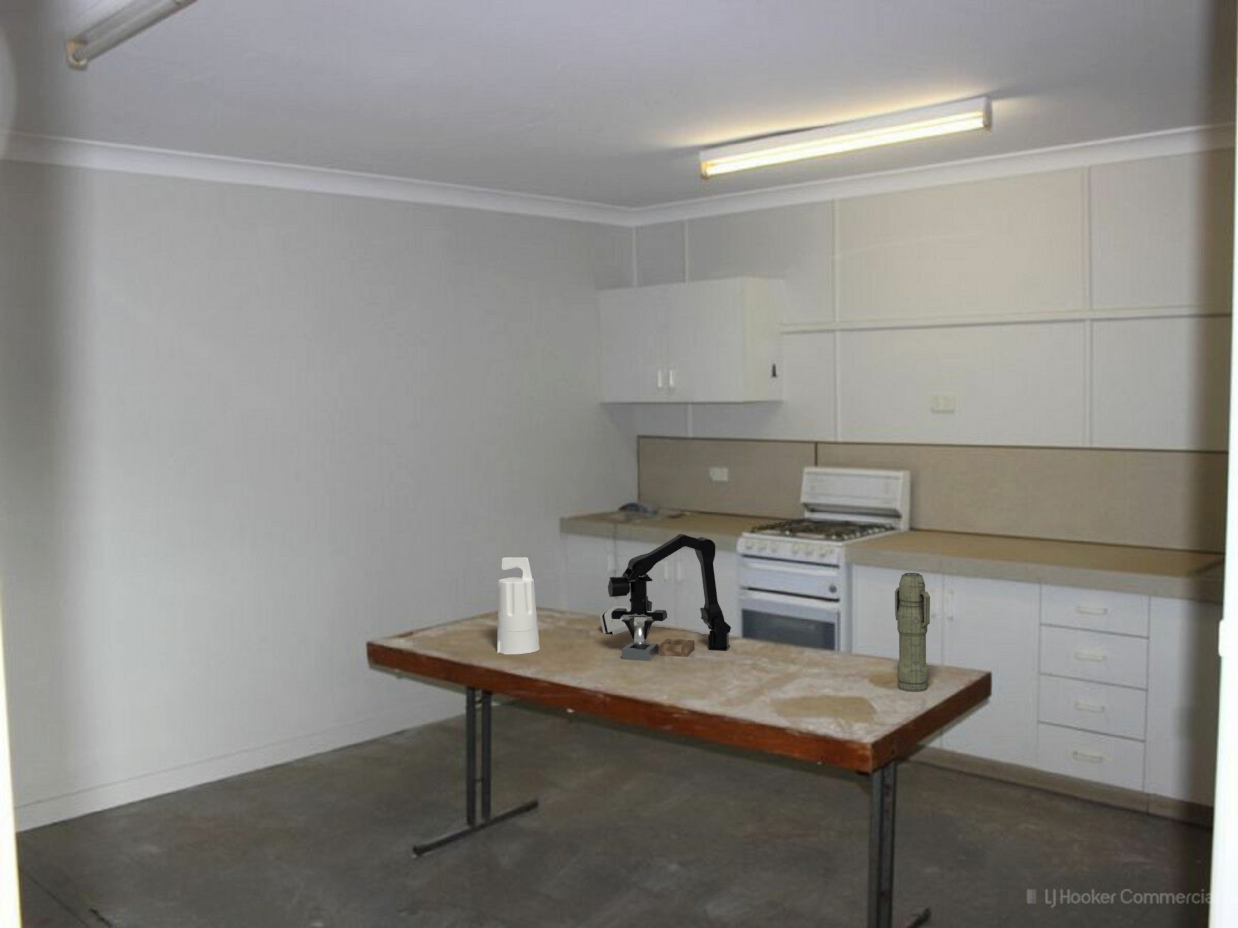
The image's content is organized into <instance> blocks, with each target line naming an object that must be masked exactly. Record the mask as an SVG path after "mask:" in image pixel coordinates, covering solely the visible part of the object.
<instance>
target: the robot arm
mask: <svg viewBox="0 0 1238 928" xmlns="http://www.w3.org/2000/svg"><path fill="white" fill-rule="evenodd" d="M684 547H687V548H690V549H693V550H694V553H695V555H696V557H697V560H698V562H699V564H700V571H701V572H700V573H701V580H702V587H703V588H702V589H703V596H704V604H703V605H704V606H703V607H700V608H699V610H700V614H701V616H700V619H701V620H702V621H703V623H704V624H705V625H706V626H707V628H708V630H709V634H708V635H707V644H708V645H707V647H708V650H713V651H728V650H729V648H730V647H731V645H730V637H729V636H730V632H731V629H732V627H731V626H730V625H729V624H728V623H727V622H726V621H725V617H724V614H723V610H722V608H721V605H720V604H719V599H718V595H717V593H718V592H717V586H716V585H717V583H716V577H715V567H714V561H715V557H716V543H715V542H714V541H713V540H712V539H709V538H707V537H703V536H701V537H700V536H699V537H698V538H696V537H694V536H689V535H686V534H684V533H679V534H677V535H676V536H675V537H674V538H671V539H670V540H668V541H666V542H665V543H663V544H662V545H660V546H658V547H657V548H655V549H653V550H651V551H649V552H647V553H644V554H640V555H637V556H634V557H632V558H631V559H629V561H628V563H627V568H625V571H624V572H623V574H622V575H621V576H609V581H608V583H607V584H608V585H607V591H608V595H609V597H610V598H616V597H617V598H618V597H627V596H628V595H629V594H630V597H629V602H630V611H627V609H626V608H616V609H615V610H613V611H612V613H611V619H620V618H621V617H622V618H623V620H622V622H624V623H625V624H626V626H627V628H628V629H629V630H628V631H629V634H630V635H631V637H632V640H634V621H635V618H645V619H646V620H644V621H643V623H644V624H643V625H644V637H645V640H646V641H647V640H648V637H649V632H650V631H651V628H652V625H653V624H654V622H655V623H656V622H664V621H665V620H667V619H668V612H667V610H666V609H655V610H653V611H652V608H653V601H650V600H649V596H648V585H647V582H653V578H651V577H650V575H649V574H648V573H649V572H650V571H651V570H653V568H654V567H655V565H656V564H658V563H659V562H661V561H662V560H664V559H666V558H668V557H669V556H671V555H672V554H674V553H676V552H678V551H679V550H681V549H682V548H684Z"/></svg>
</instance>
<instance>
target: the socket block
mask: <svg viewBox="0 0 1238 928" xmlns="http://www.w3.org/2000/svg"><path fill="white" fill-rule="evenodd" d="M695 644H696V643H695V639H681V638H666V639H665V640H663V641H662V642H661V643H660V644H658V655H659V656H670V657H683V658H685V657H688V656H690V655H691V654H692V653H693V652H694V651H695V649H696V648H695V647H696V646H695Z"/></svg>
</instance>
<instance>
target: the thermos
mask: <svg viewBox="0 0 1238 928" xmlns="http://www.w3.org/2000/svg"><path fill="white" fill-rule="evenodd" d="M898 585H899V586H898V587H896V589H895V591H894V615H895V621H897V631H898V645H899V647H898V648H899V649H898V658H899V660H898V663H897V680H898V685H897V687H898V689H899V690H901V691H905V692H912V693H913V692H914V693H916V692H918V693H919V692H920V693H921V692H924V691H928V680H929V667H928V666H929V665H928V664H927V633H928V625H929V624H931V620H930V619H931V618H930V613H931V612H930V611H931V609H930V608H931V595H930V594H929V592H928V591H926V583H925V579H924V577H923V574H920V573H918V572H905V573H903V574H901V577H900V580H899V584H898Z"/></svg>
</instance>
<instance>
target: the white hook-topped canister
mask: <svg viewBox="0 0 1238 928" xmlns="http://www.w3.org/2000/svg"><path fill="white" fill-rule="evenodd" d="M511 569H521V572H522V576H510V577H505V578H501V579H498V585H497V586H498V588H497V589H498V591H497V592H498V593H497V595H498V603H497V604H498V605H497V607H498V611H497V629H496V630H497V631H496V632H497V636H496V637H497V640H496V641H497V643H496V644H497V647H496V651H497V652H496V654H498V653H500V654H504V655H505V656H506V655H513V656H514V655H524V654H531V653H534V652H537V651H539V650H541V647H540V637H539V635H540V634H539V626H538V625H539V624H538V613H537V600H536V589H535V579H533V573H532V570H531V564H530V560H529V558H528V557H527V556H526V557H515V556H514V557H513V556H512V557H511V556H509V557H502V558H501V570H503V571H507V570H511Z"/></svg>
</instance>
